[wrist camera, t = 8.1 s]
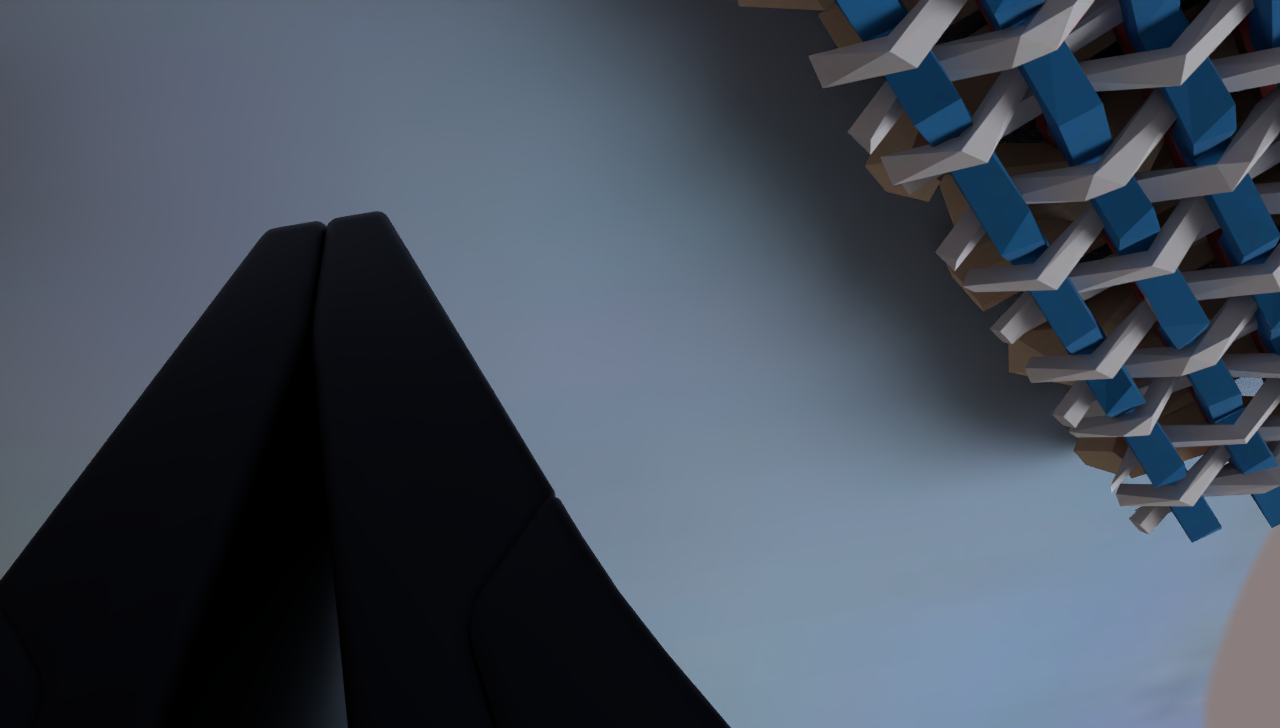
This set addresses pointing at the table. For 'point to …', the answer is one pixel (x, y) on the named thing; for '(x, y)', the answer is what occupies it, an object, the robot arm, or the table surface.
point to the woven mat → (1101, 214)
